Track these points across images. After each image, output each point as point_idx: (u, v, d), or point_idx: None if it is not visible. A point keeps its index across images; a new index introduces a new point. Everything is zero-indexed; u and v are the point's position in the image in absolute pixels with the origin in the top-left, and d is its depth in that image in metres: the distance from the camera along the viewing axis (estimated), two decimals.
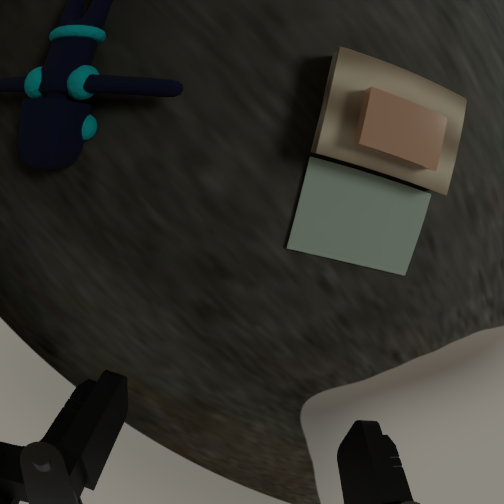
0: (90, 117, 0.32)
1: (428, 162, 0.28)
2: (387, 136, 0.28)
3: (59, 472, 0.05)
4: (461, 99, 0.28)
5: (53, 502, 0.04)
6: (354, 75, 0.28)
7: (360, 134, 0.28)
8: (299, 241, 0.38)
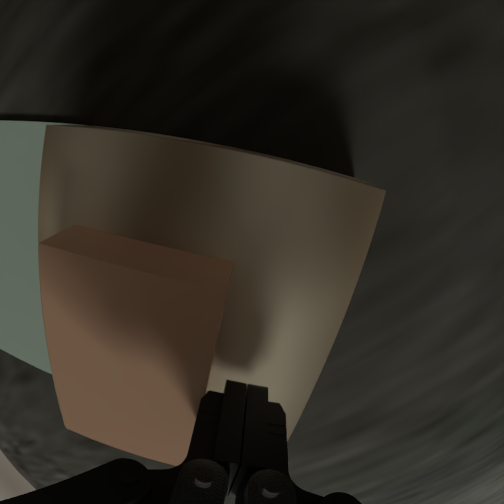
0: None
1: (73, 418, 0.11)
2: (80, 330, 0.09)
3: (227, 485, 0.06)
4: None
5: None
6: (284, 230, 0.10)
7: (67, 247, 0.09)
8: None
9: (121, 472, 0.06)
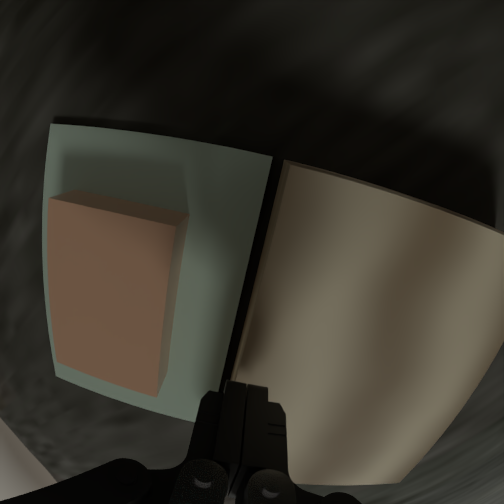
0: None
1: None
2: None
3: (226, 485, 0.06)
4: (400, 476, 0.15)
5: None
6: (489, 284, 0.10)
7: (166, 210, 0.14)
8: (64, 149, 0.13)
9: (121, 472, 0.06)
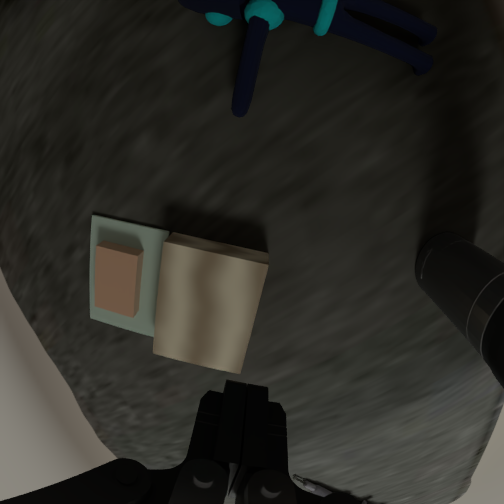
0: (228, 19, 0.29)
1: None
2: None
3: (226, 485, 0.06)
4: (238, 369, 0.41)
5: None
6: (239, 276, 0.36)
7: (136, 249, 0.40)
8: (98, 225, 0.39)
9: (121, 472, 0.06)
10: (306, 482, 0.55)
